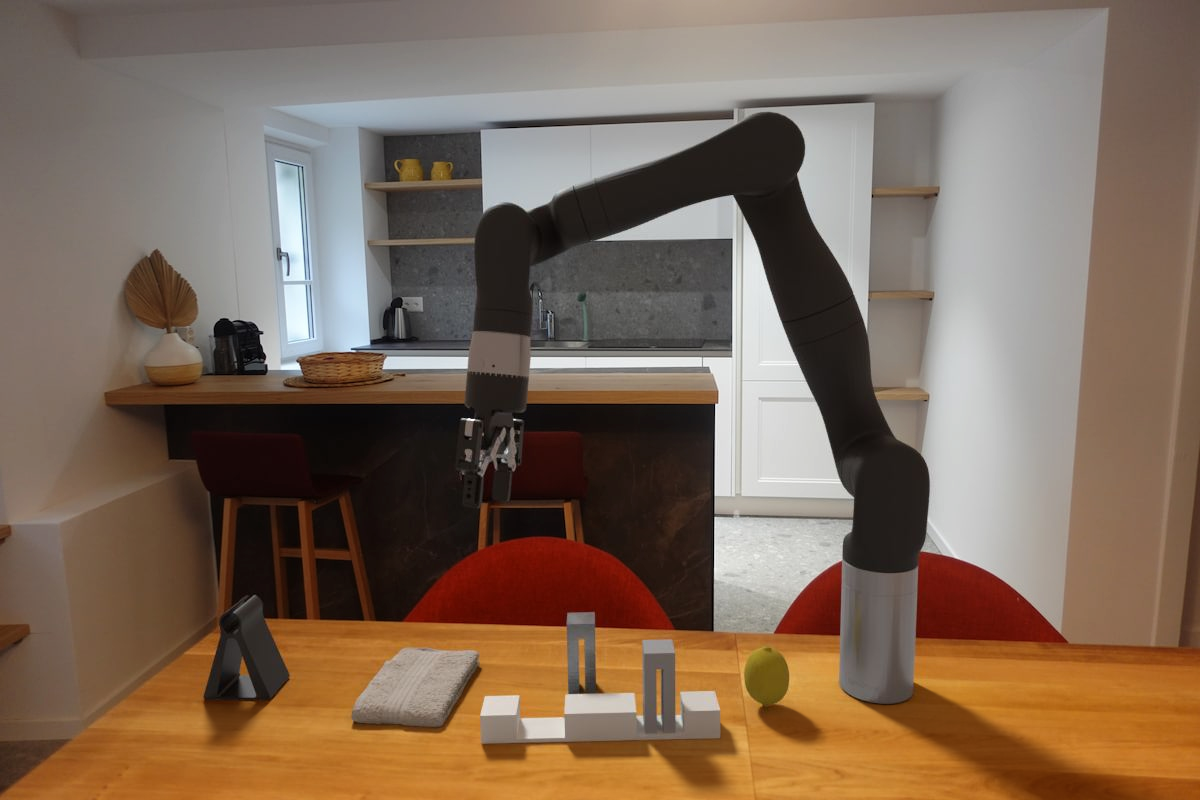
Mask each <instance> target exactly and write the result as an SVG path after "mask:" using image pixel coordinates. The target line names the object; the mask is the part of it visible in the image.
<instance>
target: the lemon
mask: <svg viewBox="0 0 1200 800" xmlns="http://www.w3.org/2000/svg"><path fill="white" fill-rule="evenodd" d="M743 672H744V673H743V678H744V679H743V680H744V686H745V689H746V691H747V693H748V694H749V696H750V697H751V698H752V699H753V701H755V702H757V703H758V704H761V705H762V706H763V707H765V708H768V707H770V706H771V705H775V704H777V703H778V702H780V701H781V700H783V699H784V697H785V696H786V694H787V693H788V689H789V685H790V671H789V666H788V663H787V660H786V659H785V657H784V656H783V654H782V653H781V652H780V651H779V650H777V649H775V648H773V647H771V646H769V645H764V646H763V647H759V648H756V649H755V650H754V651H752V652H751V653H750V654H749V655H748V657H747V659H746V663H745V666H744V671H743Z"/></svg>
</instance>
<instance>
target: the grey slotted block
mask: <svg viewBox="0 0 1200 800" xmlns="http://www.w3.org/2000/svg"><path fill="white" fill-rule="evenodd" d="M566 614H567V616H566V650H567V651H566V652H567V653H566V654H567V691H568V693H567V694H580V683H581V682H580V681H581V680H580V648H579V647H580V645H579V644H580V641H579V640H581V639H582V640H583V644H584V688H585V689H584V690H585V691H584V692H585V693H584V694H597V669H596V667H597V666H596V665H597V663H596V657H597V656H596V613H595V611H590V612H589V611H587V612H585V611H584V612H567V613H566Z"/></svg>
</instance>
